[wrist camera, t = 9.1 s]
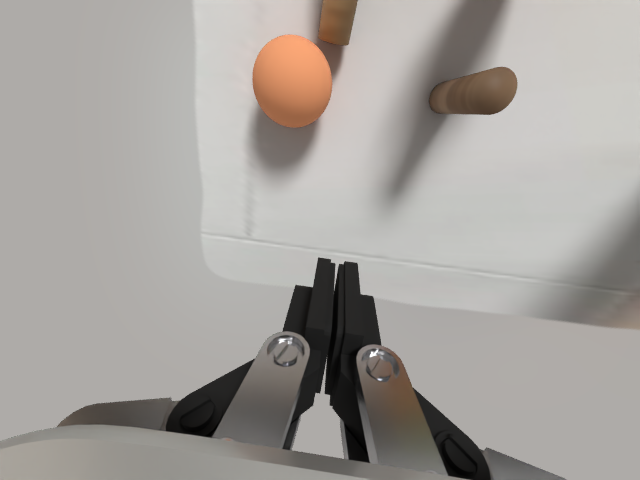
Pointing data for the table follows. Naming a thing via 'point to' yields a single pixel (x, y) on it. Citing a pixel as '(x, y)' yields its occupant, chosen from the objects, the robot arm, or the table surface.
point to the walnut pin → (475, 93)
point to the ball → (292, 81)
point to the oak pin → (337, 21)
